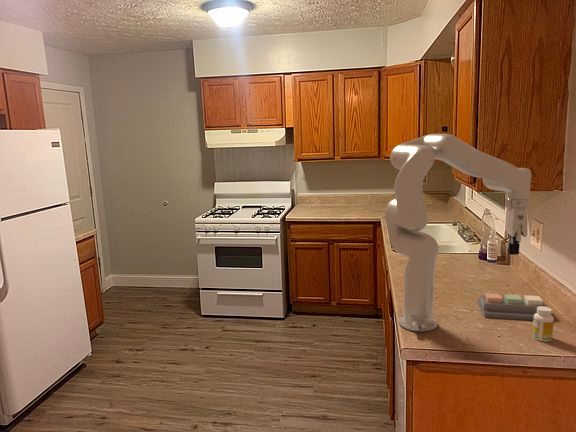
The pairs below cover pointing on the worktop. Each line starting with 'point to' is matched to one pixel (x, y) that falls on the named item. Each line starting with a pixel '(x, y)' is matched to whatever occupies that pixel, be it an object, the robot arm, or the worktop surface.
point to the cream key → (533, 300)
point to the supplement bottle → (543, 324)
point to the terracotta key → (493, 298)
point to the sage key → (513, 299)
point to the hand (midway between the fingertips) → (513, 253)
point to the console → (508, 309)
